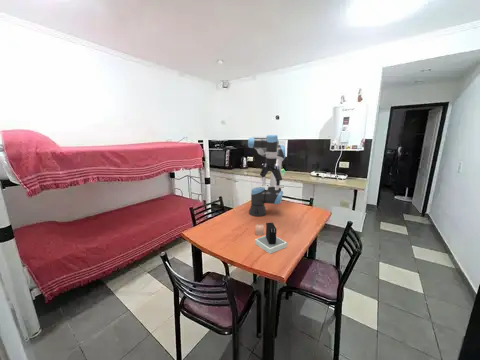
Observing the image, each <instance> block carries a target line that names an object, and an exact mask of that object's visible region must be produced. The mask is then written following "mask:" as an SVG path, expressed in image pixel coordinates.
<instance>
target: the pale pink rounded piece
mask: <svg viewBox="0 0 480 360" xmlns="http://www.w3.org/2000/svg"><path fill="white" fill-rule="evenodd" d="M254 227H255V228H254V233H255V236H259V237H263V236H264V234H265V225H264V224H262V223H256V224H255V226H254Z"/></svg>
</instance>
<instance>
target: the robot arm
mask: <svg viewBox="0 0 480 360" xmlns="http://www.w3.org/2000/svg"><path fill="white" fill-rule="evenodd" d="M279 142H280V141H279V137H278V135H277V134H267V135H266V137H253V136H252V137H249V138H248V139H247V146H248V148H250V149H255V150H256V152H257V154H258V155H260V156H261V157H264V158H265V163H263V164H262V169H261V171H260V174H259V175H260V177H261V184H262V185H261V186H258V187H254V188H252V189H251V192H250V193H251V194H250V195H251V197H250V199H251V201H250V202H251V203H250V207H249V210H248V214H249V215H250V216H253V217H264V216H266V215H267V210H266V207H265V204H270V205H271V204H272V205H273V204H274V205H280V204H281V202H282V199H283V194H284V192H283V190H282V188H281V181H282V180H283V177H282V164H283V163H282V162H283V161H284V160H285V159H286V146H285V145H283V144H279ZM269 172H270V181H269V186H268V187H267V189H266V188H265V187H266V184H267V183H266V182H267V177H266V176H267V175H268V173H269Z"/></svg>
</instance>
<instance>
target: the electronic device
mask: <svg viewBox="0 0 480 360" xmlns="http://www.w3.org/2000/svg"><path fill="white" fill-rule="evenodd" d="M265 229H266V230H265V236H266V238H267V241H268V243H269V244H276V237H277V228H276V226H275V224H274V222H266V225H265Z"/></svg>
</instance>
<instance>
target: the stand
mask: <svg viewBox="0 0 480 360" xmlns="http://www.w3.org/2000/svg"><path fill="white" fill-rule="evenodd" d="M254 244H255V245H256V246H258V247H259V249H260V248H261V249H262V250H263V251H265V252H266V253H267V254H269V255H272V254H274V253H275V252H279V251H281V250H283V249H286V248H287V247H288V243H287V241H285V240H283V239H282V238H280V237H279V236H276V244H269V243H268V241H267V238H266V235H262V236H259V237H258V238H255V239H254Z"/></svg>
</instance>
